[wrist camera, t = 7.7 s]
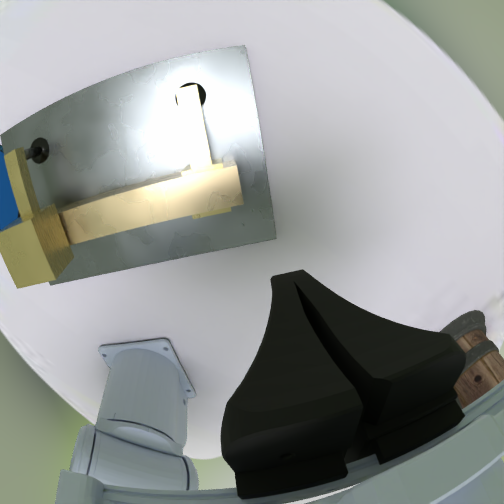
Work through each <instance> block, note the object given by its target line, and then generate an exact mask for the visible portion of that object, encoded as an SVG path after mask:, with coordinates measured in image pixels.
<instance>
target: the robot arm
mask: <svg viewBox="0 0 504 504" xmlns="http://www.w3.org/2000/svg"><path fill="white" fill-rule="evenodd" d="M270 280H271V286H272V302H271V310H270V315H269V319H268V324H267V327H266V331H265V334H264V337H263V340H262V343H261V345H260V347H259V350H258V352H257V355H256V357H255V359H254V361H253V363H252V365H251V367H250V368H249V370H248V372H247V374H246V375H245V377H244V379H243V381H242V382H241V384H240V385H239V387H238V388H237V389H236V391H235V392H234V394H233V395H232V396H231V398H230V399H229V400H228V402H227V404H226V408H225V412H224V416H223V421H222V427H221V450H222V456H223V458H224V460H225V461H226V462H227V463H228V465H229V466H230V467H231V468H232V470H233V471H234V472H235V479H236V487H237V488H228V489H213V490H198V485H199V484H198V474H197V470H196V468H195V466H194V464H193V462H192V460H191V459H190V458H189V457H187V456H185V455H183V448H184V446H185V443H186V440H187V404H188V398H193V397H195V396H196V393H195V391H194V389H193V387H192V385H191V384H190V382H189V380H188V378H187V376H186V374H185V372H184V370H183V368H182V366H181V365H180V363H179V361H178V359H177V357H176V355H175V353H174V351H173V348H172V346H171V344H170V342H169V341H168V340H166V339H159V340H151V341H143V342H135V343H127V344H117V345H107V346H100V347H99V349H98V352H99V353H100V355H101V356H102V358H103V359H104V361H105V362H106V364H107V365H108V367H109V368H110V373H109V376H108V380H107V383H106V387H105V390H104V394H103V398H102V402H101V406H100V410H99V414H98V418H97V422H96V424H95V426H93V425H90V424H87V425H86V426H83V427H81V428H80V430H79V433H78V436H77V439H76V443H75V447H74V451H73V455H72V460H71V465H70V470H69V471H68V470H64V469H63V470H61V472H60V477H59V482H58V488H57V494H56V501H55V504H284V503H289V502H294V501H299V500H303V499H308V498H312V497H316V496H319V495H323V494H327V493H331V492H334V491H337V490H340V489H343V488H347V487H350V486H353V485H356V484H358V485H356V486H354V487H352V488H351V489H348V490H345V491H342V492H340V493H337V494H334V495H331V496H328V497H325V498H322V499H319V500H316V501H312V502H309V503H306V504H504V463H503V461H502V459H501V457H502V456H503V455H504V380H503V381H501V382H500V383H499V384H498V385H496V386H495V387H494V388H492V389H491V390H490V391H488V392H487V393H486V394H484V395H483V396H481V397H480V398H479V399H477V400H476V401H474V402H473V403H471V404H470V405H468V406H467V407H465V408H464V409H461V408H460V406H459V405H458V403H457V402H456V400H455V399H456V398H457V397H458V394H457V392H456V391H455V389H454V388H453V387H454V385H455V384H456V382H457V380H458V378H459V377H460V375H461V373H462V371H463V369H464V367H465V364H466V357H467V356H466V354H465V352H464V351H463V349H462V348H461V347H460V346H459V344H458V343H457V342H456V341H455V340H454V338H453V337H452V336H451V335H450V334H446V333H440V332H433V331H427V330H422V329H418V328H414V327H410V326H406V325H403V324H399V323H396V322H393V321H390V320H388V319H385V318H382V317H380V316H377V315H375V314H372V313H370V312H368V311H366V310H364V309H362V308H360V307H358V306H356V305H354V304H352V303H351V302H349V301H347V300H345V299H344V298H342V297H340V296H339V295H337V294H336V293H334V292H333V291H331V290H330V289H328V288H327V287H326V286H324V285H323V284H321V283H320V282H319V281H317V280H316V279H315V278H314V277H312V276H311V275H310V274H308V273H307V272H306V271H304V270H298V271H294V272H289V273H284V274H280V275H275V276H272V278H271V279H270ZM165 347H167V348H165ZM361 482H362V483H361ZM359 483H360V484H359Z"/></svg>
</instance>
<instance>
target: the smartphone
mask: <svg viewBox="0 0 504 504" xmlns="http://www.w3.org/2000/svg"><path fill="white" fill-rule="evenodd" d="M19 217H21V216H20V213H19V210H18V207H17V204H16V200H15V197H14V194H13V190H12V187H11V183H10V180H9V176H8V172H7V168H6V163H5V159H4V152H3V147H2V146H0V230H1V229H3V228H4V227H6V226H7V225H8V224H10V223H11V222H13V221H14V220H16V219H17V218H19Z"/></svg>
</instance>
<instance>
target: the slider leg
mask: <svg viewBox="0 0 504 504" xmlns="http://www.w3.org/2000/svg"><path fill="white" fill-rule="evenodd" d="M40 154H41V148H40V147H39V146H36V147H32V148H28V149H25V150H24V148H23V147H21V148H17V149H14V150H13V151H11V152H9V153H8V154H6V155H5V156H4V159H5V163H6V168H7V172H8V176H9V180H10V183H11V187H12V190H13V194H14V197H15V200H16V204H17V207H18V210H19V213H20V216H21V217H19V218H17V219H16V220H14V221H13V222H11V223H10V224H8V225H7V226H6V227H4V228H3V229H1V230H0V252H1V255H2V257H3V259H4V262H5V264H6V266H7V268H8V271H9V273H10V275H11V277H12V279H13V281H14V283H15V285H16V287H17V289H18V288H23V287H27V286H31V285H35V284H40V283H44V282H48V281H53V280H56V279H57V278H58V277H59V275H60V274H61V273H62V272H63V270H64V269H65V268H66V267H67V265H68V264H69V263H70V262H71V261H72V259H73V258H74V255H73V252H72V250H71V247H70V245H69V242H68V240H67V237H66V235H65V232H64V229H63V227H62V224H61V221H60V218H59V215H58V212H57V209H56V206H55V203H53V204H51V205H48V206H46V207H43V208H41V209H40V207H39V204H38V201H37V197H36V194H35V191H34V187H33V184H32V180H31V177H30V173H29V169H28V165H27V161H26V160H29V159H32V158H35V157H38V156H39V155H40Z"/></svg>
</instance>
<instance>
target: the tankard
mask: <svg viewBox="0 0 504 504" xmlns="http://www.w3.org/2000/svg"><path fill="white" fill-rule="evenodd" d="M440 333H446V334H450V335H451V336H452V337H453V338H454V340H455V341H456V342H457V343H458V344H459V346H460V347H461V348H462V349H463V351H464V352H465V354H466V356H467V357H466V364H465V367H464V369H463V371H462V373H461V375H460V377H459V378H458V380H457V382H456V384H455V385H454V387H453V388H454V389H455V391H456V392H457V394H458V397H457V398H456V399H455V400H456V402H457V403H458V405H459V406H460V408H461V409H464V408H465V407H467V406H468V405H470V404H471V403H473V402H474V401H476V400H477V399H479V398H480V397H481V396H483V395H484V394H486V393H487V392H488V391H490V390H491V389H492V388H494V387H495V386H496V385H498V384H499V383H500V382H501V381H503V380H504V359H503V358H502V356H501V355H500V354H499V350H498V348H497V347H496V345H495V344H494V343H493V342H492V341H490V340H489V339H488V338H487V337H486V326H485V316H484V314H483V313H482V312H481V311H477V310H474V311H470V312H467V313H465V314H463V315H461V316H460V317H458V318H457V319H455V320H453V321H452V322H451V323H450V324H448V325H447V326H446V327H445V328H443V329H442V330H441V331H440Z"/></svg>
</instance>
